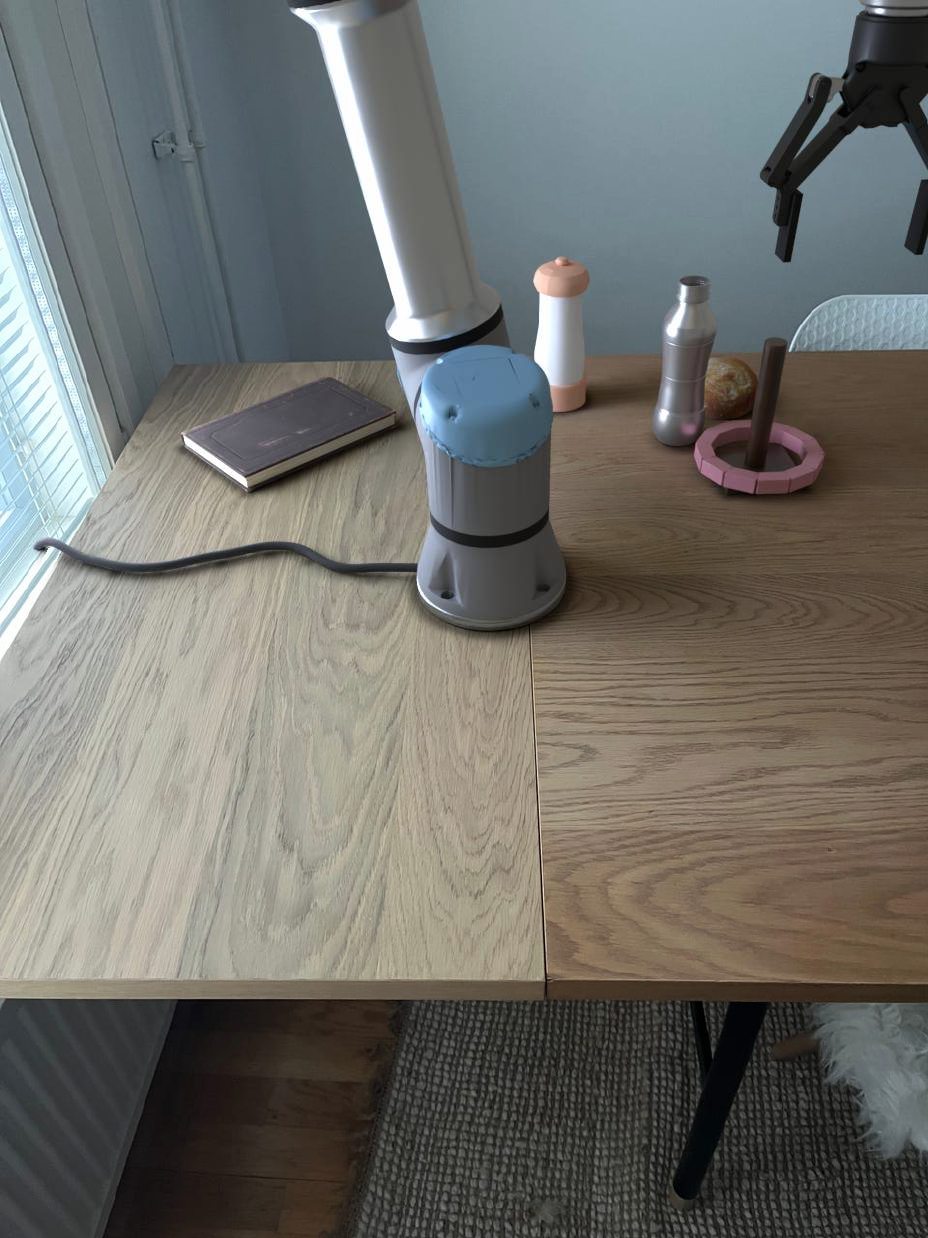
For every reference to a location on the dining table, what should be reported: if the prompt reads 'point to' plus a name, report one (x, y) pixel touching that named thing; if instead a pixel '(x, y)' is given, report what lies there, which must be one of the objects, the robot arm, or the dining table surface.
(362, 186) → the robot arm
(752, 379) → the bread roll
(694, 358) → the silver bottle
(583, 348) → the salt shaker
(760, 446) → the stand
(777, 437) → the ring
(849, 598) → the dining table surface
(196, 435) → the hardcover book
